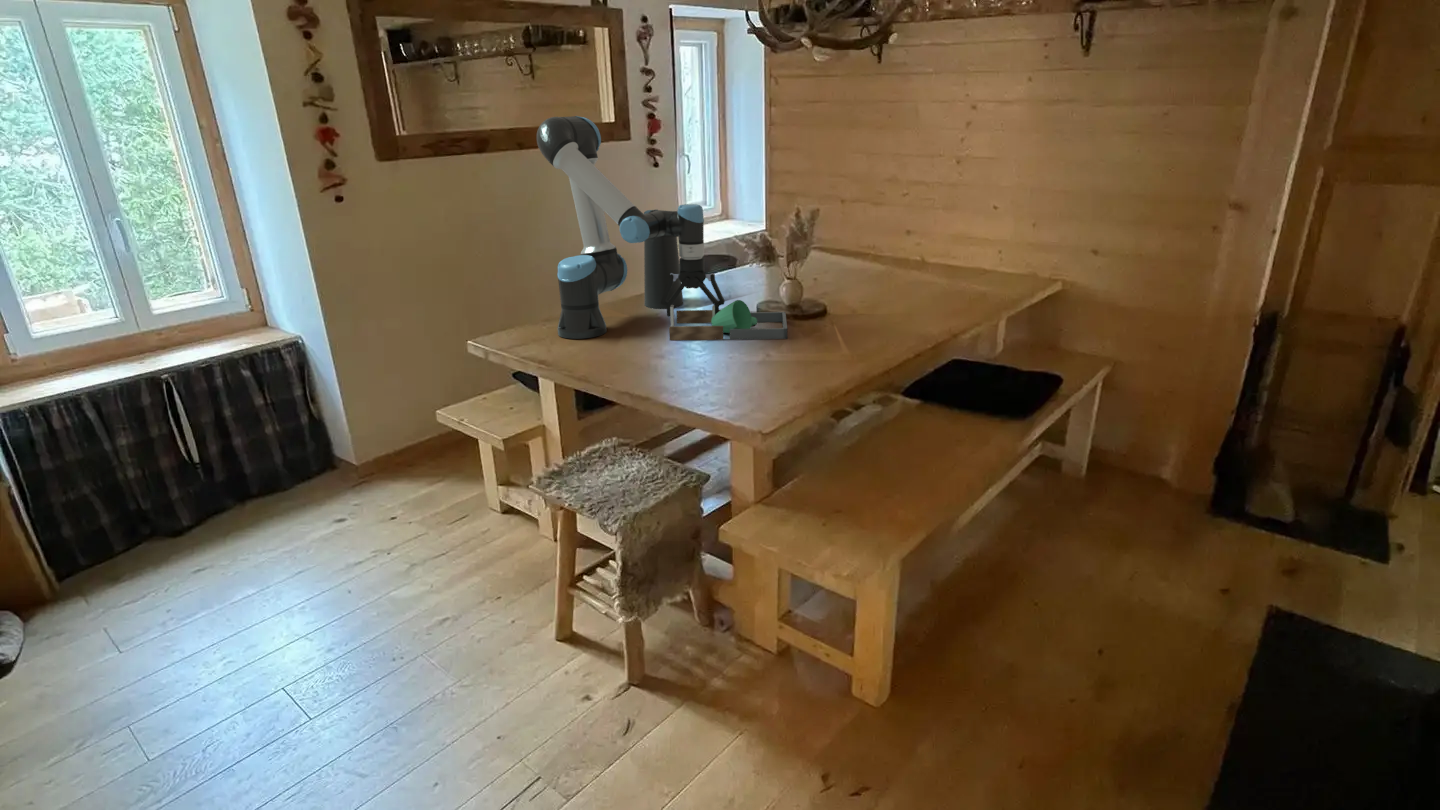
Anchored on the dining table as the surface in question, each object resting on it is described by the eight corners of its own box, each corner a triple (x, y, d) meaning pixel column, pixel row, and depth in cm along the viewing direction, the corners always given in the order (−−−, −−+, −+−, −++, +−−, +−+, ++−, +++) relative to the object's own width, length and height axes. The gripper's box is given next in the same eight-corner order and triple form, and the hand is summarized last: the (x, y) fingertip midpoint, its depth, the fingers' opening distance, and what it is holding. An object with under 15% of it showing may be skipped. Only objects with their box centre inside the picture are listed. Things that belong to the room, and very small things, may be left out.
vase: (660, 313, 270) (655, 227, 261) (637, 307, 280) (631, 224, 270) (691, 306, 279) (687, 223, 269) (667, 301, 288) (663, 220, 279)
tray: (729, 339, 236) (729, 329, 235) (732, 321, 256) (732, 312, 255) (787, 338, 235) (787, 328, 234) (785, 321, 255) (785, 311, 254)
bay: (669, 340, 237) (669, 327, 235) (677, 322, 257) (676, 310, 256) (723, 339, 236) (722, 326, 234) (726, 321, 256) (726, 309, 255)
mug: (707, 337, 239) (734, 329, 233) (704, 305, 241) (730, 297, 235) (736, 343, 251) (762, 335, 245) (733, 313, 252) (759, 305, 246)
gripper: (649, 259, 236) (652, 329, 244) (731, 259, 235) (732, 329, 243) (652, 255, 243) (655, 323, 251) (732, 255, 242) (732, 323, 250)
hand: (693, 326), depth 247 cm, fingers open, 12 cm apart
